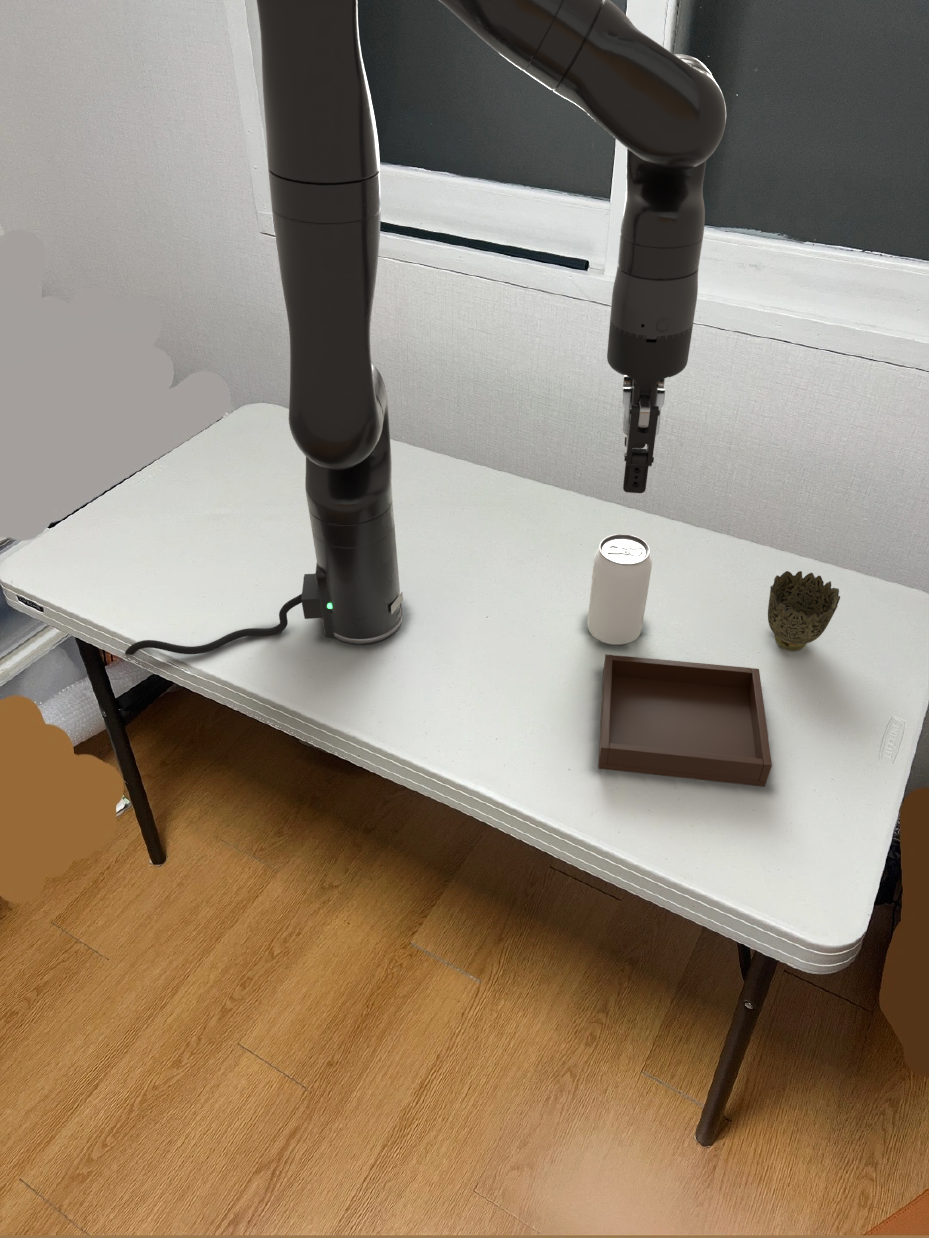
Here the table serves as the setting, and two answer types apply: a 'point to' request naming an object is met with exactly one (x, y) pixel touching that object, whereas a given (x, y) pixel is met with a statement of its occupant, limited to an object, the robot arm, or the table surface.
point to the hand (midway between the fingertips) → (634, 468)
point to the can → (619, 589)
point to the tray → (683, 720)
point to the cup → (800, 609)
